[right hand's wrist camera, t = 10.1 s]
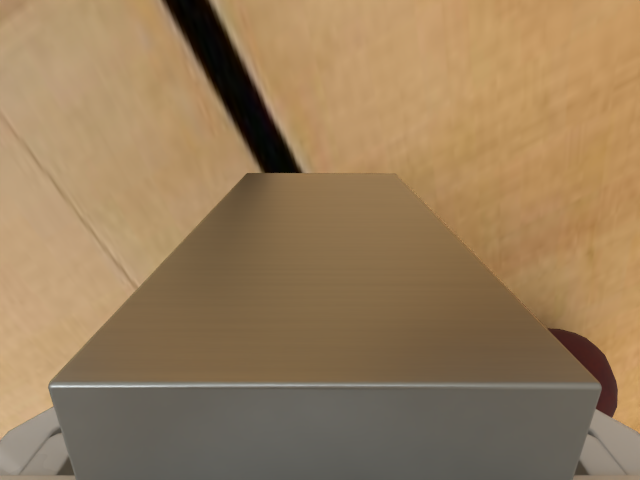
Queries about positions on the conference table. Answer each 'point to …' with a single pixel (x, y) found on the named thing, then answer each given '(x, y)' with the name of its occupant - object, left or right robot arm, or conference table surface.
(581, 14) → the conference table surface
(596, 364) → the potato
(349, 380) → the box
